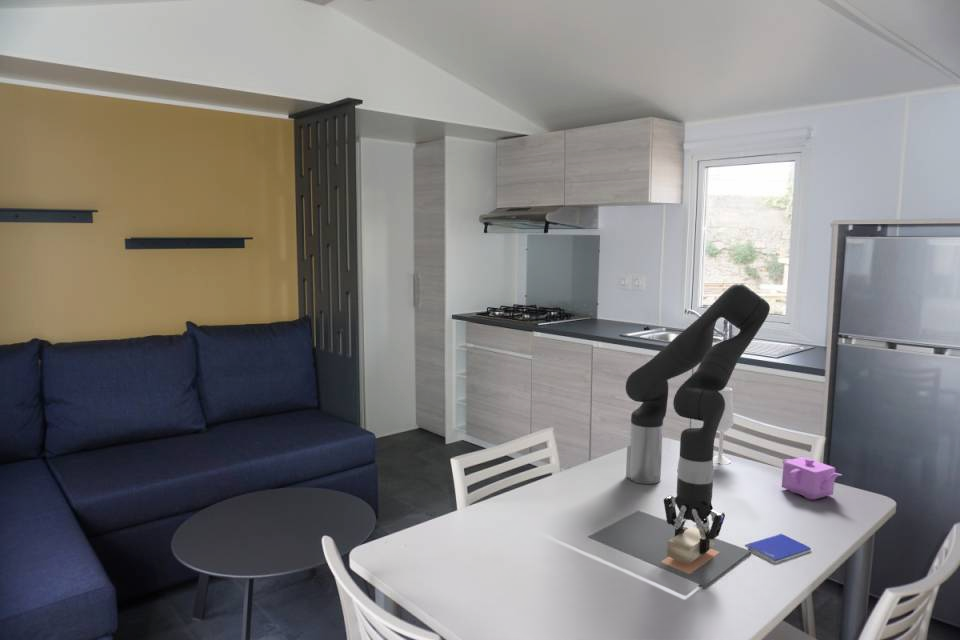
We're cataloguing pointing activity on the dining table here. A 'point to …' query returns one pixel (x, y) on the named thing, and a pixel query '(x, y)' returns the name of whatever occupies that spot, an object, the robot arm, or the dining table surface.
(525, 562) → the dining table surface
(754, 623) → the dining table surface
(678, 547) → the cream block
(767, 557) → the hard drive
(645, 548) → the rubber mat
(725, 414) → the champagne flute
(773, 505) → the dining table surface
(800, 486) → the teapot
